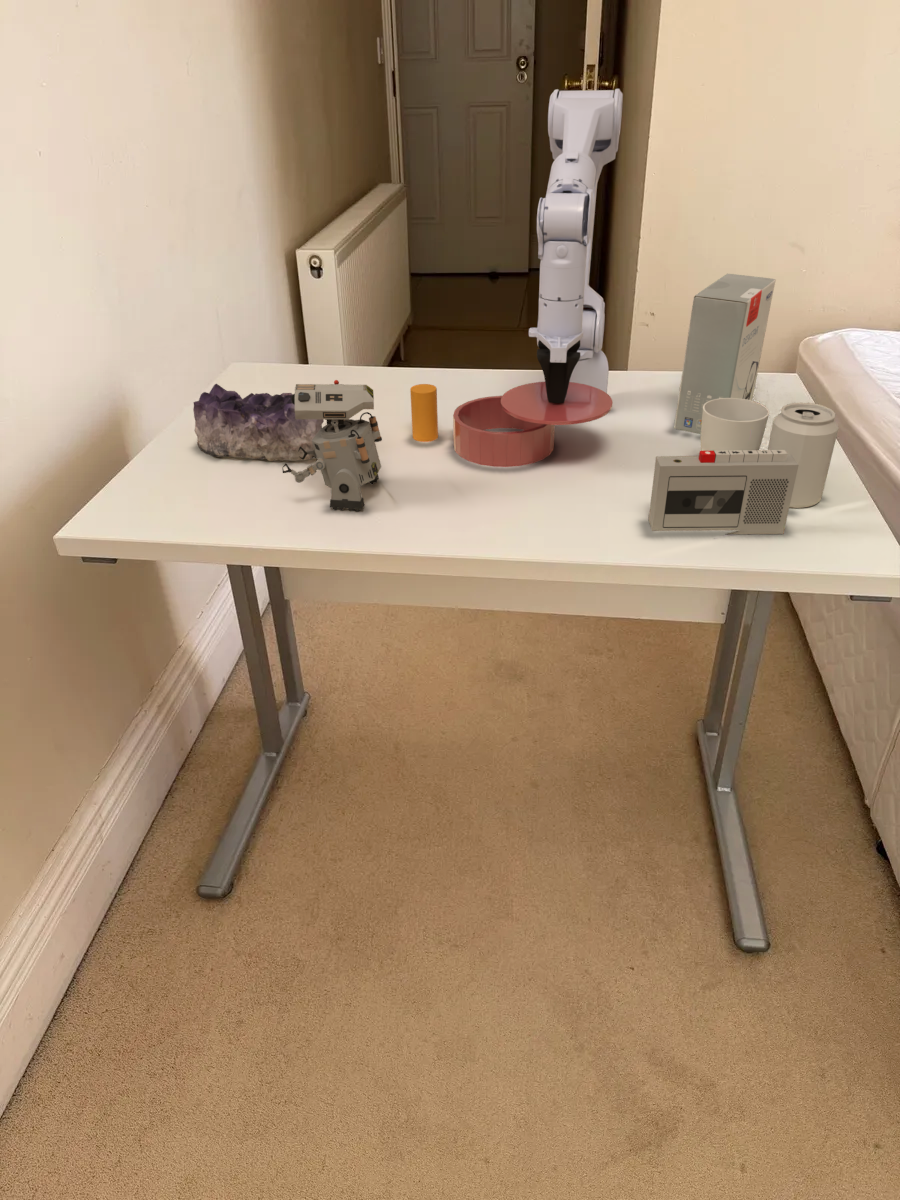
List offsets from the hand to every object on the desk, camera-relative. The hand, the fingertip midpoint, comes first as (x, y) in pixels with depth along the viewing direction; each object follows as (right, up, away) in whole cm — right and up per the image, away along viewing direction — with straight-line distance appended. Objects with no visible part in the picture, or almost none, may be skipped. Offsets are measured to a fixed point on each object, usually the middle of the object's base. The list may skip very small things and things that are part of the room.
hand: (556, 397), depth 117 cm
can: (+29, -15, -7) cm, 33 cm away
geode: (-42, -6, +9) cm, 43 cm away
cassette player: (+18, -19, -13) cm, 29 cm away
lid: (0, -1, 0) cm, 1 cm away
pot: (-7, -6, +8) cm, 12 cm away
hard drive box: (+26, 0, +15) cm, 30 cm away
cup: (+22, -12, -2) cm, 25 cm away
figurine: (-29, -14, -3) cm, 32 cm away
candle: (-18, -4, +11) cm, 22 cm away
